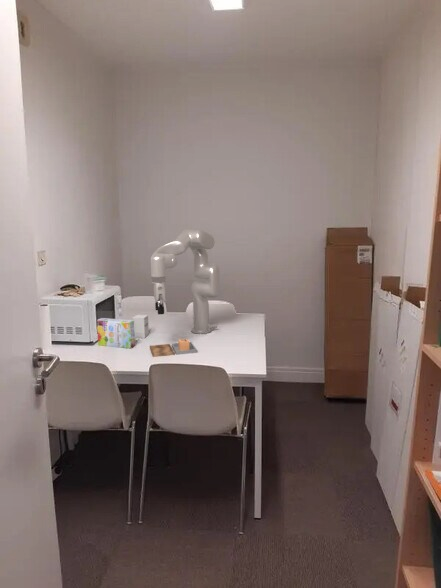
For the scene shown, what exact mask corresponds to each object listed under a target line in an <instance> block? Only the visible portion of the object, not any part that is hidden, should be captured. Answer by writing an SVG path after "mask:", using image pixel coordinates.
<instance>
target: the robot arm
mask: <svg viewBox="0 0 441 588" xmlns="http://www.w3.org/2000/svg"><path fill="white" fill-rule="evenodd" d="M215 242H216V241H215V237H214V236H213V235H212V234H210V233H208V232H207V231H206V230H202V229H191V228H190V229H189V228H188V229H187V228H186V229H184V230H183V231H181V232H180V233H179V235H178V236H177V237H175V239H174V240H173V241H171V242H168V243H167V244H166V243H165V244H164V245H162V246H159V247H158V248H157V249H156V250H155V251H154V252H153V253H152V255H151V257H150V275H151V276H150V278H151V279H150V282H151V284H153V295H154V296H153V297H154V301H155V305H154V306H155V308H154V309H155V311H157V315H164V314H165V305H164V304H165V303H166V301H167V300H166V299H167V297H166V288H165V287H166V285H165V283H167V274H166V272H167V271H166V269H174V268H175V267H176V266H177V265H178V262H179V261H178V257H177V256H179V255H182V254H184V253H185V252H186V251H187V250H188V249H190V250H191V252H192V254H193V275H194V277H195V278H197V279H199V280H196V281H193V282H192V284H191V286H190V291H191V292H190V293H191V295H192V304H193V305H192V306H193V307H192V308H193V310H192V312H193V314H192V317H193V328H191V329H190V330H191V333H193V334H199V335H203V334H210V333H211V332H212V330H213V329H215V328H217V327H218V325H217V324H214V323H212V324H211V323H210V306H209V300H208V299H207V298H218V296H219V295H220V290H221V289H220V287H221V283H220V281H221V271H220V269H221V268H220V267H219V265H218V264H217V263H210V262H209V255H208V252H207V250H212V249H213V248H214V247H215ZM200 279H201V280H200ZM206 280H209V281H206Z"/></svg>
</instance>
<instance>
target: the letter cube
mask: <svg viewBox="0 0 441 588" xmlns="http://www.w3.org/2000/svg"><path fill="white" fill-rule="evenodd" d="M189 342H190V340H189V339H188V338H185V339H184V338H183V339H178V340H177V343H178V347H179V350H180V351H183V350H189Z"/></svg>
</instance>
